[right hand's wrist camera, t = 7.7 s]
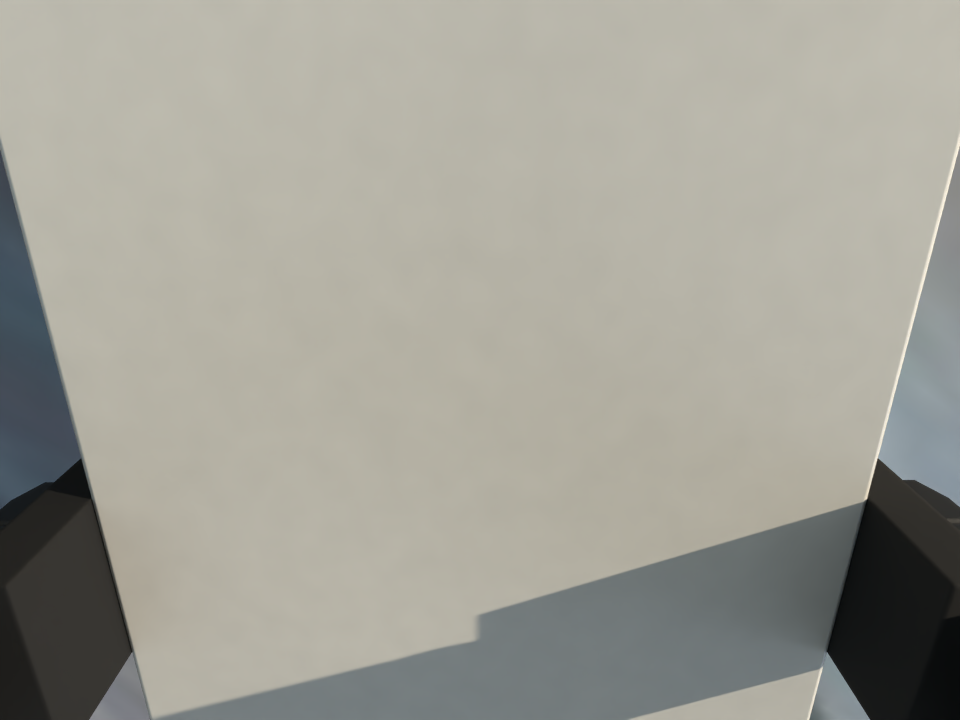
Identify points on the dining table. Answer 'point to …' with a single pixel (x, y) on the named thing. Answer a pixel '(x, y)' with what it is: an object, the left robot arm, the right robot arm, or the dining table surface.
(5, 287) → the dining table surface
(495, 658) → the cabinet
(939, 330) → the dining table surface
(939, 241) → the dining table surface
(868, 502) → the right robot arm
